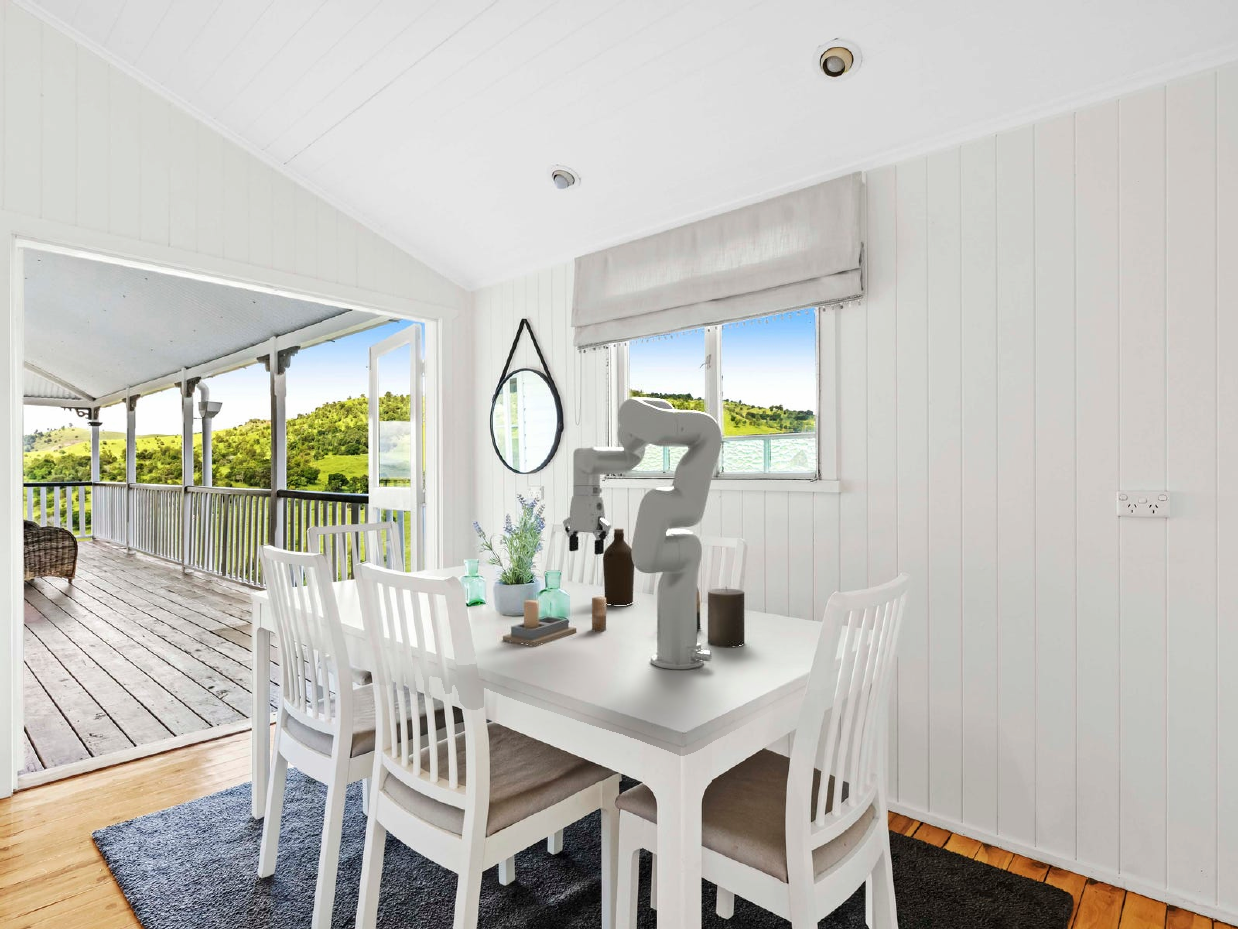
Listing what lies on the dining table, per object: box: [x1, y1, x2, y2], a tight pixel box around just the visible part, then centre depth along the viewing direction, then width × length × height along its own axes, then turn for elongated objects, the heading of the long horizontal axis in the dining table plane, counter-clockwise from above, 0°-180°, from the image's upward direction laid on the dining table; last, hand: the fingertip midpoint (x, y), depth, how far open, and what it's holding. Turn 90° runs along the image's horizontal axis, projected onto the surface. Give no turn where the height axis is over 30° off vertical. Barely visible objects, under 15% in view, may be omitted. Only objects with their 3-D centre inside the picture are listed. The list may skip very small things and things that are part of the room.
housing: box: [502, 599, 577, 647], centre depth 195 cm, size 11×18×10 cm, turn 146°
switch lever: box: [591, 596, 607, 632], centre depth 202 cm, size 4×4×9 cm
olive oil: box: [602, 528, 635, 605], centre depth 238 cm, size 11×11×25 cm
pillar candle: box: [707, 586, 746, 648], centre depth 188 cm, size 10×10×15 cm
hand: (586, 552), depth 201 cm, fingers open, 9 cm apart
